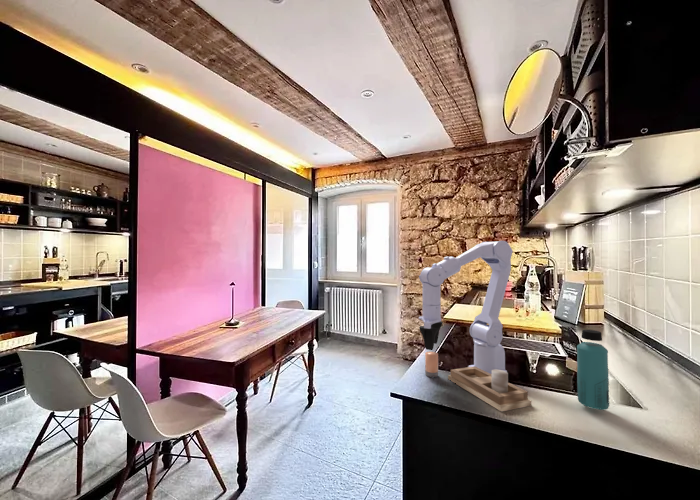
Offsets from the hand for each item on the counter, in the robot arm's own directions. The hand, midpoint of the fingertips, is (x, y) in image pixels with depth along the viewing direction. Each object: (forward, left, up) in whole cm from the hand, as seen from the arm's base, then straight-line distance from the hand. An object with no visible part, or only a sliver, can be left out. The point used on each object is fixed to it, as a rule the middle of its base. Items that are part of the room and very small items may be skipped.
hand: (431, 346), depth 99 cm
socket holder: (-8, +15, -9) cm, 19 cm away
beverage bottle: (-26, +32, -10) cm, 42 cm away
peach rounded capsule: (0, 0, -9) cm, 9 cm away
